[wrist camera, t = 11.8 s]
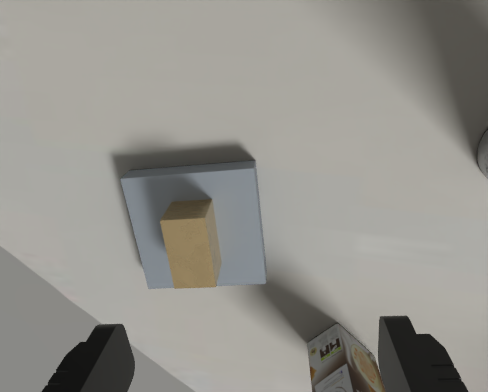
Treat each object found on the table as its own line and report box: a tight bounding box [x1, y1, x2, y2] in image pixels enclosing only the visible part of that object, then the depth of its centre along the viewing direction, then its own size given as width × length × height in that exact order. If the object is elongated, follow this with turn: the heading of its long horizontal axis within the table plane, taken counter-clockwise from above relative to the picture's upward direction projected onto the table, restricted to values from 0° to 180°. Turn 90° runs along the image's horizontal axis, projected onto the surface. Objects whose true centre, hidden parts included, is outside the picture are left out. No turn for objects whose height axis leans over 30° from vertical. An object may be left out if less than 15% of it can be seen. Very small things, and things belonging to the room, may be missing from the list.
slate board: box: [120, 160, 267, 289], centre depth 47 cm, size 16×16×3 cm
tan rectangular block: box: [160, 199, 222, 289], centre depth 44 cm, size 5×9×5 cm, turn 6°
